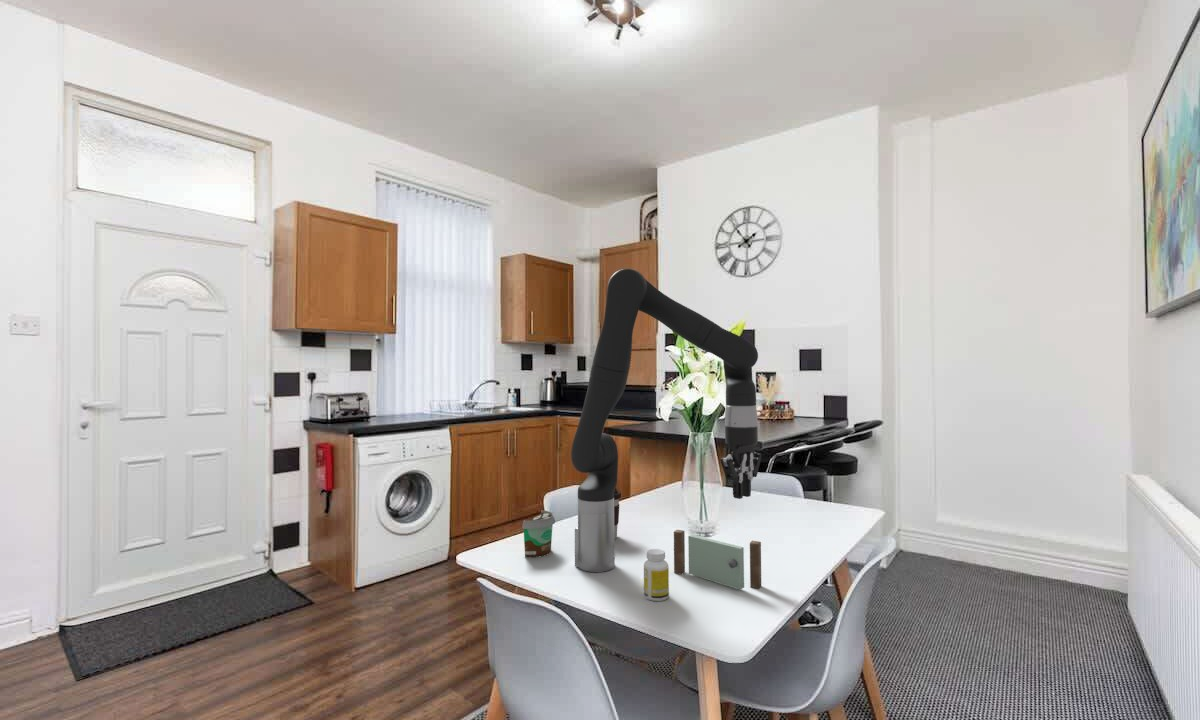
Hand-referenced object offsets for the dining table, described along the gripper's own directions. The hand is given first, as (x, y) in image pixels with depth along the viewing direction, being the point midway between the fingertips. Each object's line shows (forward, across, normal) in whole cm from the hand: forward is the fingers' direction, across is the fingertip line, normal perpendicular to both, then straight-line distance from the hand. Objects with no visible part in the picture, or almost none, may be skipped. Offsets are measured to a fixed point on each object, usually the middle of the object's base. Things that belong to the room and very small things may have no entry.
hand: (742, 496), depth 131 cm
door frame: (+19, -6, +4) cm, 20 cm away
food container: (+19, -26, +47) cm, 57 cm away
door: (+19, -8, +2) cm, 20 cm away
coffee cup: (+19, -4, +46) cm, 50 cm away
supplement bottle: (+19, -23, +6) cm, 31 cm away
